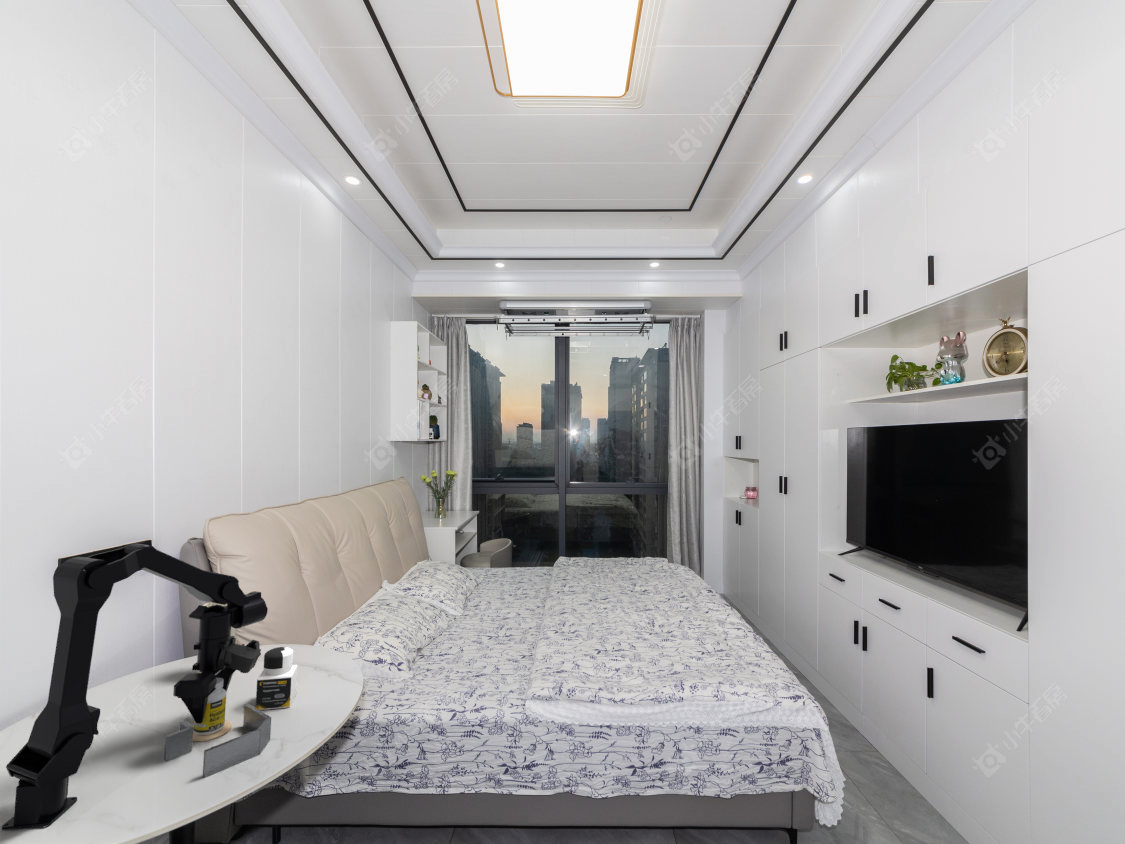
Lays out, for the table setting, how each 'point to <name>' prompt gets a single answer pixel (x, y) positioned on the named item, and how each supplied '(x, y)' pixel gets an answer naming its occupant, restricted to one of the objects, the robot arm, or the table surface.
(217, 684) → the supplement bottle
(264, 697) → the medicine bottle
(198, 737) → the coaster
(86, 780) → the table surface
